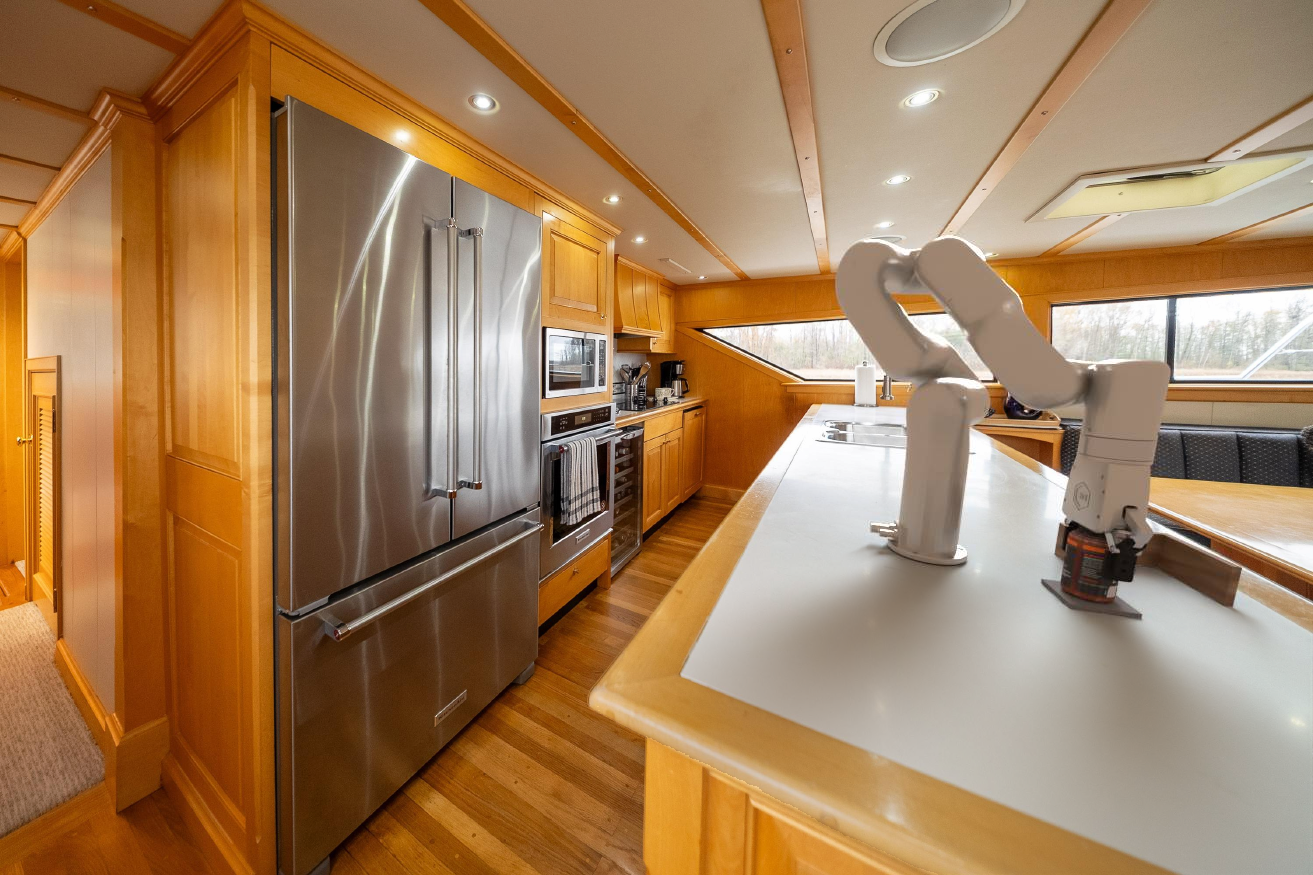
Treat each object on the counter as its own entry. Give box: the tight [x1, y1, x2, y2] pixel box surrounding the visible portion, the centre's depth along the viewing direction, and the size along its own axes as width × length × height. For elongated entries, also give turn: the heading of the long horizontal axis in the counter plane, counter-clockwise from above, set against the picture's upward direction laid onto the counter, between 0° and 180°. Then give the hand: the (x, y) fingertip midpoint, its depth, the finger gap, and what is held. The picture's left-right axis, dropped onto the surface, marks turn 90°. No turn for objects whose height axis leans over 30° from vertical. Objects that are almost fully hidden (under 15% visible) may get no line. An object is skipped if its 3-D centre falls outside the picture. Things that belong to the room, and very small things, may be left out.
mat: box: [1040, 578, 1143, 619], centre depth 66 cm, size 8×8×1 cm
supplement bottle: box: [1060, 524, 1122, 603], centre depth 65 cm, size 6×6×11 cm
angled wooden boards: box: [1054, 522, 1243, 608], centre depth 73 cm, size 15×14×6 cm
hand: (1093, 565), depth 65 cm, fingers open, 9 cm apart
